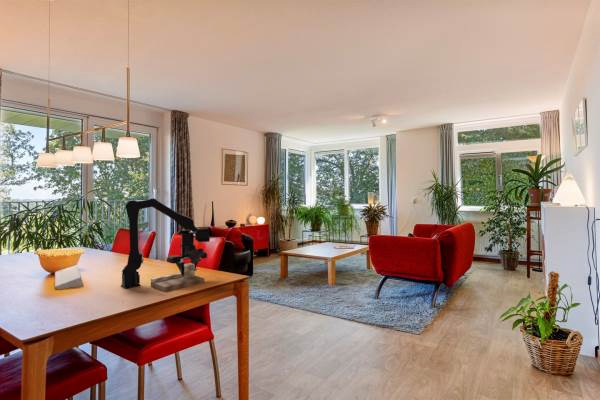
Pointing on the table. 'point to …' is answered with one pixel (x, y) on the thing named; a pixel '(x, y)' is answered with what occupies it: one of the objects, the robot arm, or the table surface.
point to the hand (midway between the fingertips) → (187, 274)
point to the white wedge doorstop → (68, 278)
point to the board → (174, 282)
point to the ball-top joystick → (189, 270)
